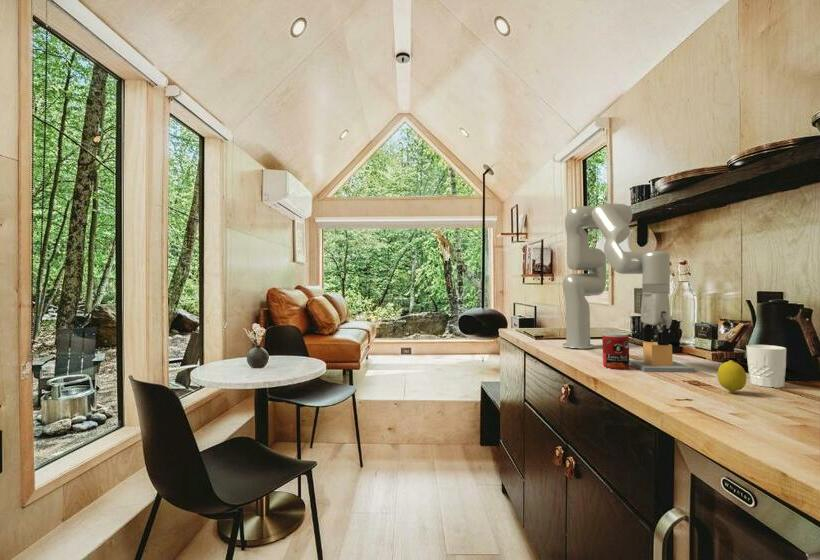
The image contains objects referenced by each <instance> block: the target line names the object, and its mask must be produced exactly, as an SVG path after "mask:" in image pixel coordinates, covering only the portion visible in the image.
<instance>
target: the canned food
mask: <svg viewBox="0 0 820 560" xmlns="http://www.w3.org/2000/svg"><path fill="white" fill-rule="evenodd" d="M601 337H602V338H601V339H602V365H603V368H605V367H606V369H608V368H610V369H609V370H615V369H619V370H618V371H625V370H624V369H626V370H628V369H629V368H630V365H629V360H630V337H629V334H628V333H625V332H619V331H618V332H613V331H609V332H608V331H607V332H602V336H601Z"/></svg>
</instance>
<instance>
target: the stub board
mask: <svg viewBox="0 0 820 560" xmlns="http://www.w3.org/2000/svg"><path fill="white" fill-rule="evenodd" d="M672 361H673V366H652V365H650V364H647V363H645V362H643V359H629V366H631V367H633V368H636V369H638V370H640V371H642V372H645V373H651V372H652V373H656V372H657V373H694V371H695V370H694V369H695V368H693V367H692V366H688V365H686V364H683V363H681V362H677V361H674V360H672Z"/></svg>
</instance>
